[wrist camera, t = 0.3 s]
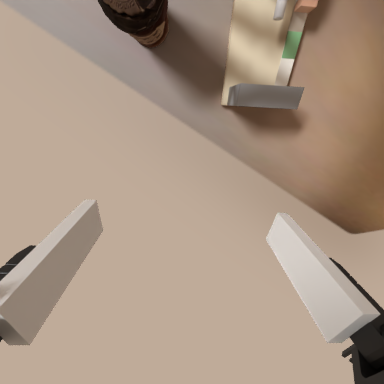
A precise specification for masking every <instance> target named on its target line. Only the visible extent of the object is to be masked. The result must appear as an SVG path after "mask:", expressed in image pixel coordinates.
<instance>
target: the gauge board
mask: <svg viewBox="0 0 384 384" xmlns="http://www.w3.org/2000/svg"><path fill="white" fill-rule="evenodd" d="M297 1H298V0H287V5H286V9H285V13H284V17H283V19H282V20H279V21H275V20H273V16H274V12H275V7H276V2H277V0H234V2H233V10H232V18H231V26H230V34H229V42H228V51H227V59H226V67H225V75H224V83H223V91H222V99H221V105H229V106H246V107H263V108H280V109H297V108H298V105H299V102H300V99H301V96H302V93H303V90H304V87H290V86H287V84H288V81H289V77H290V74H291V70H292V67H293V63H294V60H295V56H296V53H297V49H298V46H299V42H300V39H301V35H302V32H303V28H304V25H305V21H306V18H307V14H308V13H302V12H294V9H295V5H296V2H297Z"/></svg>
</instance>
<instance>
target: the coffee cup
mask: <svg viewBox="0 0 384 384" xmlns="http://www.w3.org/2000/svg"><path fill="white" fill-rule="evenodd" d="M98 2H99V4H100V6H101V7H102V9H103V11H104V13H105V15H106V16H107V17H108V18H109V19H110V20H111V22H112V23H113V24H114V25H115V26H117V28H119V29H120V30H122V31H124V32H126V33H128V34H129V35H130V36H132V37H133V38H135V39H136V40H137V41H138V42H139V43H140V44H142V45H144V46H146V47H149V48H152V47H156V46H158V45H160V44H161V43H162V42H163V41H164V40H165V38H166V35H167V34H168V31H169V27H168V17H167V9H168V0H98Z"/></svg>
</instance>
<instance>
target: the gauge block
mask: <svg viewBox="0 0 384 384" xmlns="http://www.w3.org/2000/svg"><path fill="white" fill-rule="evenodd" d="M286 5H287V0H277V2H276V7H275V12H274V16H273V20H275V21H279V20H282V19H283V17H284V13H285V9H286Z"/></svg>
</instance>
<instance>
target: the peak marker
mask: <svg viewBox="0 0 384 384" xmlns="http://www.w3.org/2000/svg"><path fill="white" fill-rule="evenodd" d="M317 3H318V0H298V1H297V2H296V5H295V9H294V12H302V13H309V12H310V11H312V10H313V9H314V8H316V6H317Z"/></svg>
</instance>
